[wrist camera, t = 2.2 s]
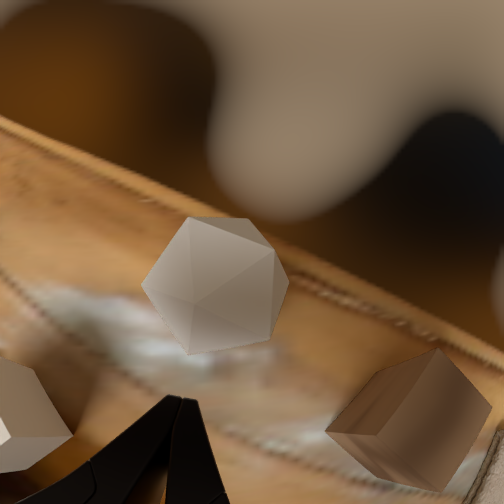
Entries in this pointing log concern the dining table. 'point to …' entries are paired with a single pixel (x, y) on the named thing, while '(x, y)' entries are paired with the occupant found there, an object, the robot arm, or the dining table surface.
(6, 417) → the pale grey block
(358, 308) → the dining table surface
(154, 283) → the die
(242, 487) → the dining table surface
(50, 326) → the dining table surface
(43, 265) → the dining table surface
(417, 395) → the walnut block
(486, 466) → the washcloth
